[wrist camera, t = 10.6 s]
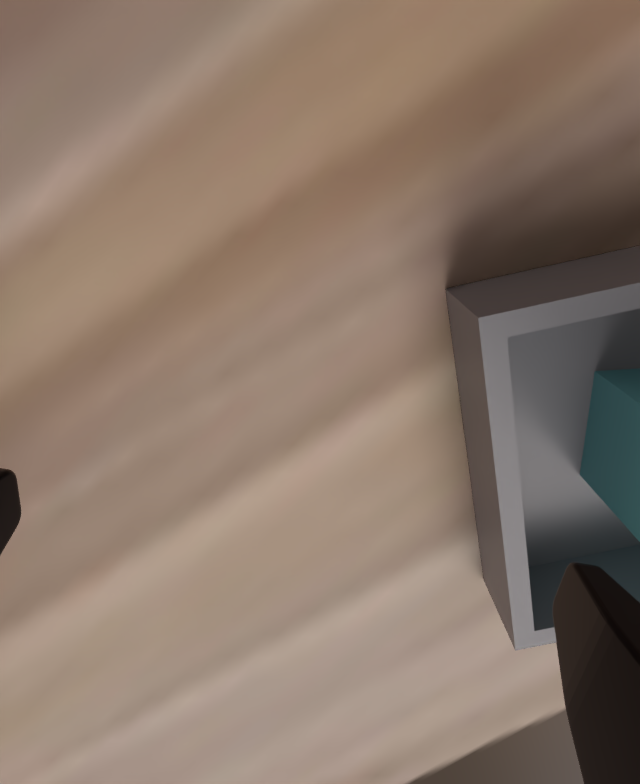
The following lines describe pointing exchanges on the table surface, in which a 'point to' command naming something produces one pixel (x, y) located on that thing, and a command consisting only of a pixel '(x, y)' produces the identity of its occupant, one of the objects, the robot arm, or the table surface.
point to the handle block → (615, 444)
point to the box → (542, 426)
